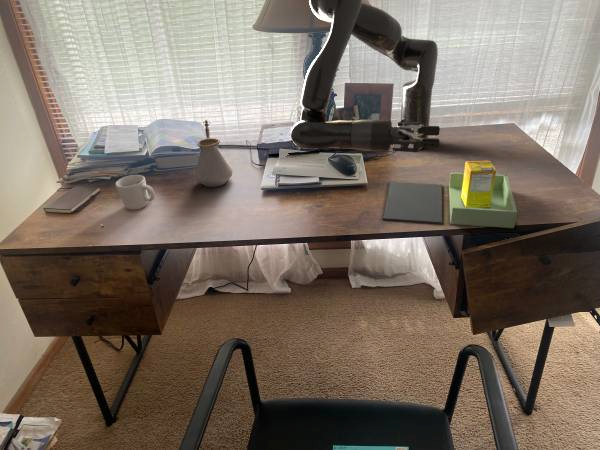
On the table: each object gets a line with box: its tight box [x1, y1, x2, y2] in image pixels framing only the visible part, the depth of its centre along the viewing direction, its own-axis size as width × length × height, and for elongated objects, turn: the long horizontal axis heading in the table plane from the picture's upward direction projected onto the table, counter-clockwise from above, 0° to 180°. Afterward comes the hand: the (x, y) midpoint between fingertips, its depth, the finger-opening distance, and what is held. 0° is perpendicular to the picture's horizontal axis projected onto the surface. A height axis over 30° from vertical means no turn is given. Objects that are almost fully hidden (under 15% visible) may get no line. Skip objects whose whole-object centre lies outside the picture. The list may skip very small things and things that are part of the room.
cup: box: [114, 174, 156, 211], centre depth 123 cm, size 11×8×8 cm
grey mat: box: [382, 182, 443, 224], centre depth 115 cm, size 14×20×1 cm
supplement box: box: [461, 160, 497, 209], centre depth 108 cm, size 6×6×11 cm
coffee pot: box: [194, 119, 234, 188], centre depth 136 cm, size 21×12×15 cm, turn 11°
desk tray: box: [448, 172, 518, 229], centre depth 110 cm, size 14×20×4 cm
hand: (439, 136), depth 105 cm, fingers open, 8 cm apart
